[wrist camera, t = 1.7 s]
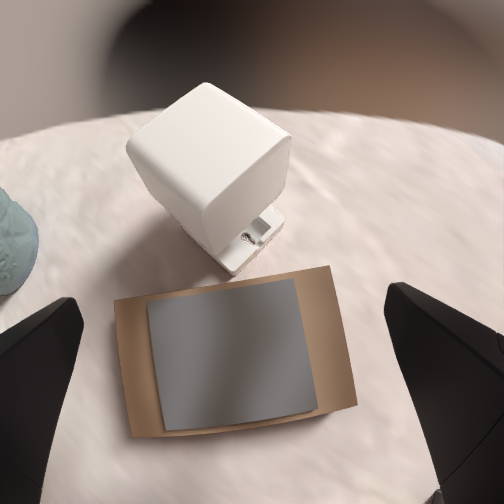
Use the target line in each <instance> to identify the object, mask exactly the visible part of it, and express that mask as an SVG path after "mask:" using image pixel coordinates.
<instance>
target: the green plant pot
mask: <svg viewBox="0 0 504 504" xmlns="http://www.w3.org/2000/svg"><path fill="white" fill-rule="evenodd" d="M38 244H39V237H38V229H37V226H36V224H35V222H34V220H33V218H32V217H31V216H30V215H29V214H28V213H27V212H26V211H25V210H24V209H23V208H22V207H21V206H20V205H19V204H18V203H17V202H15V201H12V200H11V199H10V197H9V195H7V193H6V192H5V190H4V189H2V188H1V187H0V296H2V295H8V294H11V293H12V292H14V291H16V290H17V289H18V288H19V287H20V286H21V285H22V284H23V283H24V282H25V280H26V279H27V278H28V276H29V274H30V272H31V270H32V268H33V266H34V263H35V260H36V256H37V252H38Z"/></svg>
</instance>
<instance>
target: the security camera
mask: <svg viewBox="0 0 504 504" xmlns="http://www.w3.org/2000/svg"><path fill="white" fill-rule="evenodd" d="M291 140H292V137H291V135H290V134H288V133H287V132H286V131H284V130H283V129H281V128H280V127H278V126H277V125H275V124H274V123H272V122H271V121H269V120H268V119H266V118H265V117H263V116H262V115H260V114H259V113H257V112H256V111H254V110H252V109H251V108H249V107H248V106H246V105H245V104H243V103H241V102H240V101H238V100H237V99H235V98H233V97H232V96H230V95H228V94H227V93H225V92H223V91H222V90H220V89H218V88H217V87H215V86H213V85H211V84H210V83H203V84H201V85H199V86H198V87H196V88H195V89H193V90H192V91H191V92H189V93H188V94H186V95H185V96H183V97H182V98H181V99H179V100H178V101H176V102H175V103H174V104H172V105H171V106H169V107H168V108H167V109H165V110H164V111H163V112H161V113H160V114H159V115H157V116H156V117H155V118H153V119H152V120H151V121H150V122H148V123H147V124H146V125H144V126H143V127H142V128H141V129H139V130H138V131H137V132H136V133H134V134H133V135H132V136H131V137H130V139H129V140H128V142H127V144H126V152H127V154H128V156H129V158H130V159H131V161H132V163H133V165H134V166H135V168H136V170H137V172H138V173H139V175H140V177H141V179H142V180H143V182H144V184H145V185H146V187H147V189H148V191H149V192H150V194H151V195H152V196H153V197H154V198H155V199H156V200H157V201H158V202H159V203H160V204H161V205H162V206H163V207H164V208H165V209H166V210H168V211H169V212H170V213H171V214H172V215H173V216H174V217H175V218H176V219H177V220H178V221H179V222H180V223H181V225H182V227H183V229H184V231H185V232H186V233H187V234H188V235H189V236H190V237H191V238H192V239H194V240H195V241H196V242H197V243H198V244H199V245H200V246H201V247H202V248H203V249H204V250H205V251H206V252H207V253H208V254H209V255H210V256H212V257H213V258H214V259H215V260H216V261H217V262H218V263H219V264H220V265H221V266H222V267H223V268H224V269H225V270H226V271H228V272H229V273H230V274H231V275H232V276H236V275H237V274H238V273H239V272H240V271H241V270H242V269H243V268H244V267H245V266H246V265H247V264H248V263H249V262H250V261H251V260H252V259H253V258H254V257H255V256H256V255H257V254H258V253H259V252H260V251H261V250H262V249H263V248H264V247H265V246H266V245H267V244H268V243H269V242H270V241H271V240H272V239H273V238H274V237H275V236H276V235H277V234H278V233H279V231H280V230H281V229H282V228H283V227H284V222H285V217H284V216H283V215H282V214H280V213H279V212H278V211H277V210H276V209H274V208H273V207H272V206H271V205H270V204H271V203H272V202H273V201H274V200H275V199H276V198H277V197H278V196H279V195H280V194H281V192H282V191H283V189H284V186H285V181H286V174H287V167H288V161H289V154H290V147H291ZM245 233H247V234H249V235H250V236H251V240H252V241H254V242H255V244H254V245H250V244H249V243H248V242H246V241H243V240H242V239H241V236H242V235H243V234H245Z"/></svg>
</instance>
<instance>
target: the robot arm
mask: <svg viewBox="0 0 504 504" xmlns="http://www.w3.org/2000/svg"><path fill="white" fill-rule="evenodd" d="M384 316H385V319H386V323H387V326H388V330H389V333H390V337H391V340H392V344H393V348H394V351H395V355H396V358H397V361H398V364H399V367H400V369H401V372H402V374H403V377H404V380H405V382H406V385H407V387H408V390H409V393H410V396H411V398H412V401H413V404H414V407H415V410H416V412H417V415H418V418H419V421H420V424H421V427H422V430H423V433H424V436H425V439H426V442H427V445H428V449H429V452H430V455H431V458H432V461H433V465H434V468H435V472H436V475H437V479H438V482H439V485H440V490H441V494H442V498H443V501H444V504H504V336H503V335H502V334H500V333H496V331H494V330H492V329H491V328H489V327H487V326H485V325H483V324H482V323H480V322H478V321H476V320H474V319H472V318H471V317H469V316H467V315H465V314H463V313H461V312H460V311H458V310H456V309H454V308H452V307H450V306H448V305H446V304H445V303H443V302H441V301H439V300H437V299H435V298H433V297H431V296H429V295H427V294H425V293H424V292H422V291H420V290H418V289H416V288H414V287H412V286H410V285H408V284H406V283H404V282H397V283H391V284H390V285H389V287H388V290H387V295H386V300H385V305H384ZM83 328H84V321H83V318H82V315H81V313H80V310H79V307H78V305H77V302H76V300H75V299H74V298H72V297H62V298H60V299H58V300H56V301H55V302H53V303H51V304H49V305H48V306H46V307H44V308H43V309H41V310H39V311H37V312H36V313H34V314H32V315H31V316H29V317H27V318H26V319H24V320H22V321H21V322H19V323H17V324H16V325H14V326H12V327H11V328H9V329H8V330H6V331H4V332H3V333H1V334H0V504H40V499H41V494H42V487H43V482H44V477H45V472H46V467H47V463H48V458H49V454H50V450H51V446H52V442H53V438H54V434H55V430H56V426H57V422H58V419H59V415H60V412H61V408H62V405H63V401H64V398H65V395H66V392H67V388H68V385H69V382H70V379H71V376H72V372H73V369H74V365H75V361H76V357H77V352H78V348H79V344H80V340H81V336H82V332H83Z"/></svg>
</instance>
